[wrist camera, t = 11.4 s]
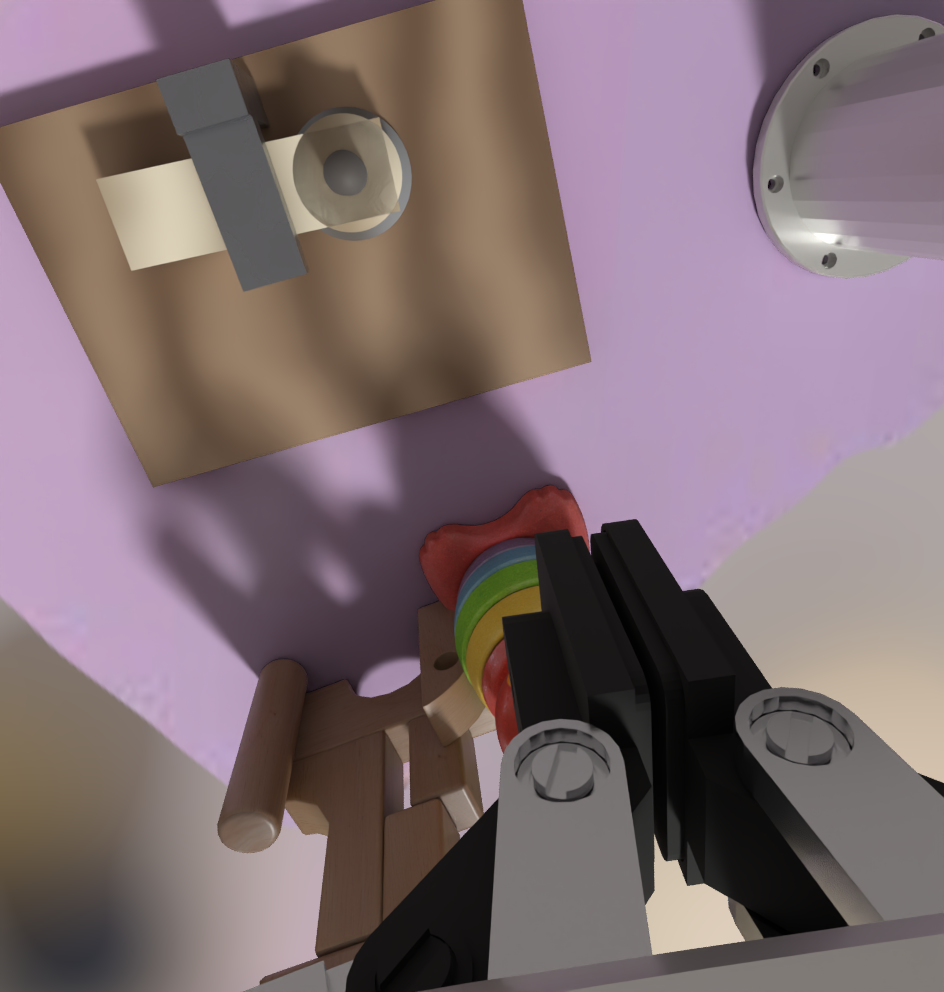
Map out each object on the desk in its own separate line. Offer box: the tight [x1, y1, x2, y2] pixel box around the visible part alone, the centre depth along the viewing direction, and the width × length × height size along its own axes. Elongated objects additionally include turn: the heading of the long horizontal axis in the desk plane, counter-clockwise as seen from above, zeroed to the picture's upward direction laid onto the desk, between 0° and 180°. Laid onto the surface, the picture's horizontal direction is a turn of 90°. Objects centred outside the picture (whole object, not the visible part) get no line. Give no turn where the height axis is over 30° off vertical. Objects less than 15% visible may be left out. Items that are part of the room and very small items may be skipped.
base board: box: [0, 0, 591, 487], centre depth 36 cm, size 26×18×2 cm
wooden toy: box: [217, 601, 496, 985], centre depth 36 cm, size 16×7×25 cm, turn 111°
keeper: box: [156, 58, 310, 292], centre depth 31 cm, size 3×8×6 cm, turn 15°
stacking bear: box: [419, 486, 589, 754], centre depth 38 cm, size 11×10×18 cm
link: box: [96, 113, 402, 271], centre depth 32 cm, size 14×5×4 cm, turn 102°
